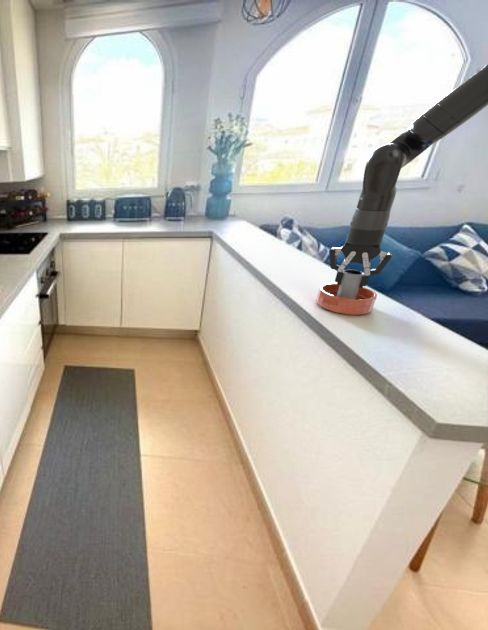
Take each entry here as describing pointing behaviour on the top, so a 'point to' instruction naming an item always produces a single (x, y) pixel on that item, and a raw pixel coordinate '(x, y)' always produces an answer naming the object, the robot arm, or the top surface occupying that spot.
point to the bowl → (346, 300)
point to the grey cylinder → (350, 284)
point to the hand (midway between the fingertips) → (349, 284)
